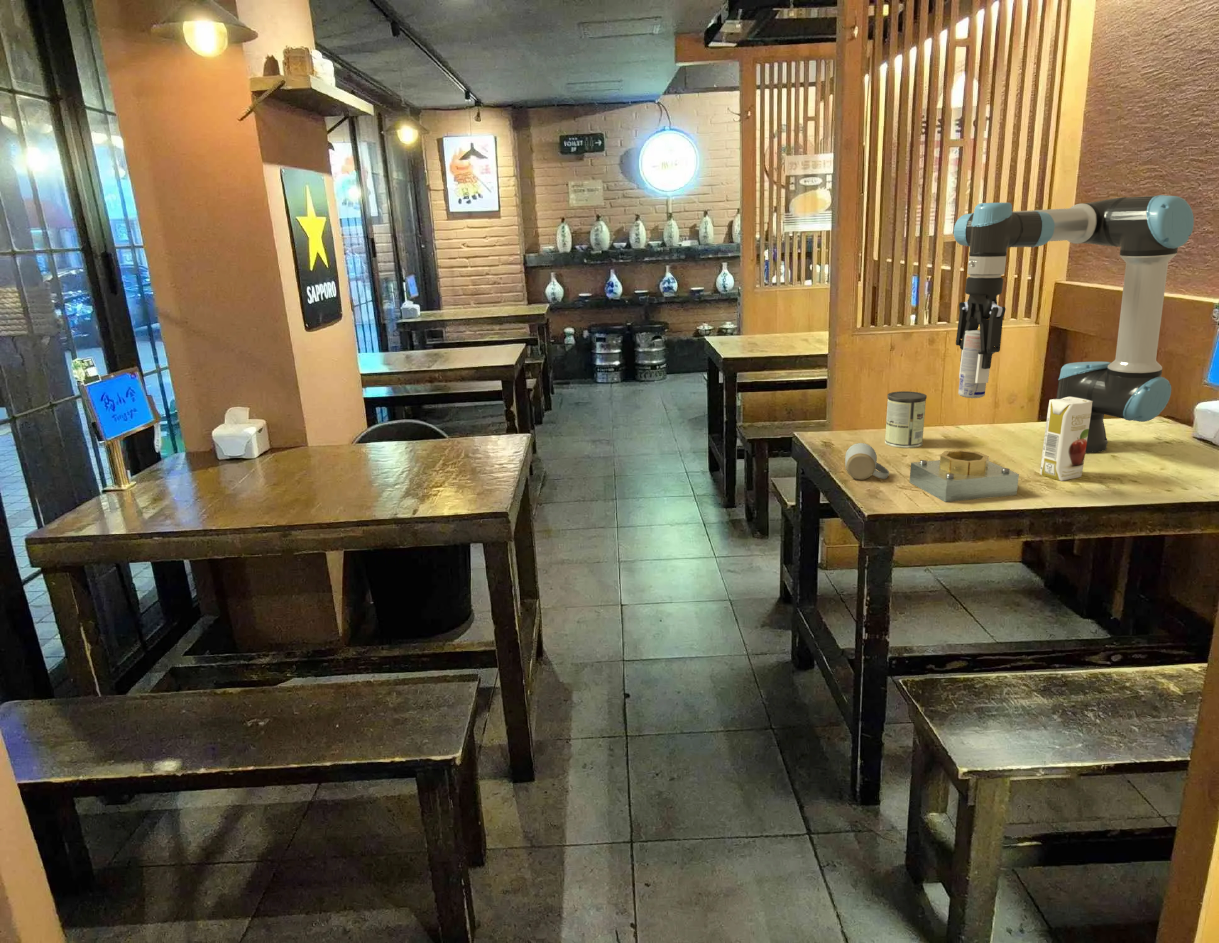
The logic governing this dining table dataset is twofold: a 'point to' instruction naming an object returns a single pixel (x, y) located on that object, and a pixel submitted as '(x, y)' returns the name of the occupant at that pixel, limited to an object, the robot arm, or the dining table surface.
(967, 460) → the metal socket fixture
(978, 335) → the beverage can
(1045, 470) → the juice carton
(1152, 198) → the robot arm
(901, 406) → the coffee can
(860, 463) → the ceramic mug
